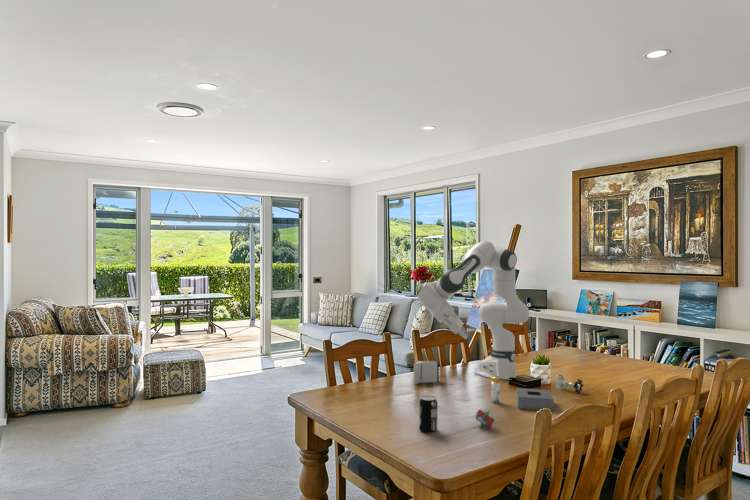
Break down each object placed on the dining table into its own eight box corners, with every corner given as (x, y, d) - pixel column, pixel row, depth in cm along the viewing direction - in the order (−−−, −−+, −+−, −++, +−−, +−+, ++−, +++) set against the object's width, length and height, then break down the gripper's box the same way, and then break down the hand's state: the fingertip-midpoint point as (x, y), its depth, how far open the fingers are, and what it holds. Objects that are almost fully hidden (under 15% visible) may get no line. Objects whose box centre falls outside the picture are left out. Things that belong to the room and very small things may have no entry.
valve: (552, 389, 242) (576, 394, 233) (552, 375, 242) (576, 380, 233) (559, 387, 246) (583, 392, 237) (560, 373, 246) (583, 378, 237)
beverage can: (417, 427, 188) (418, 395, 188) (435, 427, 188) (435, 394, 188) (420, 433, 181) (421, 400, 181) (438, 433, 182) (439, 400, 182)
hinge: (414, 384, 249) (414, 363, 249) (410, 381, 254) (410, 361, 254) (440, 382, 253) (440, 362, 253) (435, 379, 258) (435, 360, 258)
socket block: (518, 408, 211) (518, 396, 211) (515, 399, 225) (516, 388, 225) (553, 411, 208) (553, 399, 208) (548, 401, 222) (549, 390, 222)
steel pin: (489, 402, 220) (489, 377, 220) (494, 400, 222) (494, 375, 222) (496, 404, 217) (496, 378, 217) (501, 402, 220) (501, 377, 220)
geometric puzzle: (502, 423, 187) (490, 403, 190) (493, 427, 182) (481, 407, 185) (488, 431, 191) (477, 411, 194) (478, 435, 185) (467, 415, 189)
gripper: (448, 311, 214) (471, 335, 212) (451, 306, 234) (472, 328, 232) (438, 321, 215) (461, 345, 213) (441, 315, 235) (462, 337, 233)
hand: (467, 336), depth 222 cm, fingers open, 8 cm apart
